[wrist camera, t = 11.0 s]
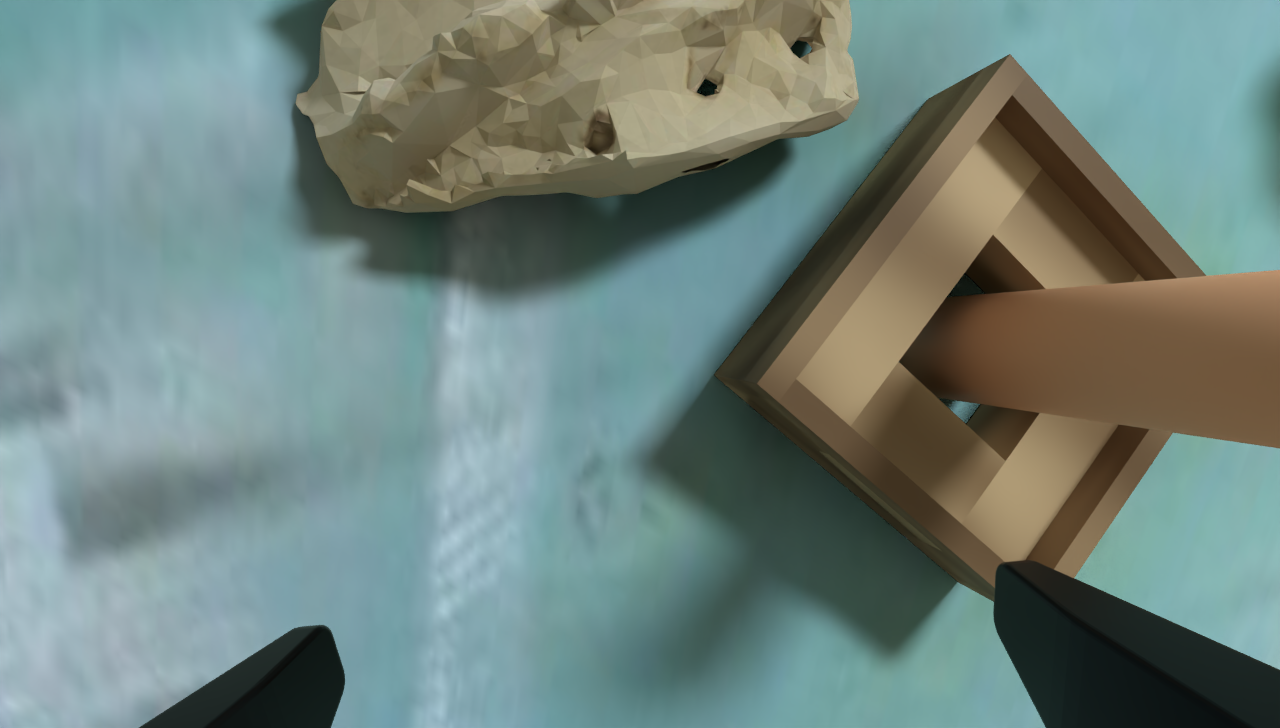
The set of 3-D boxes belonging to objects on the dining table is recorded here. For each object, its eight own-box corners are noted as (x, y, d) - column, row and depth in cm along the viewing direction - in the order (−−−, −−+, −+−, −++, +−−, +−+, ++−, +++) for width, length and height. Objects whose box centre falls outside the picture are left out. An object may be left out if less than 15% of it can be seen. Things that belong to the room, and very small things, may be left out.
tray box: (958, 582, 22) (1040, 627, 19) (713, 374, 20) (757, 383, 17) (1139, 323, 24) (1247, 322, 20) (928, 98, 21) (1010, 54, 18)
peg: (966, 411, 22) (1585, 514, 10) (884, 378, 21) (1438, 444, 9) (998, 318, 22) (1653, 298, 10) (917, 282, 22) (1512, 210, 9)
